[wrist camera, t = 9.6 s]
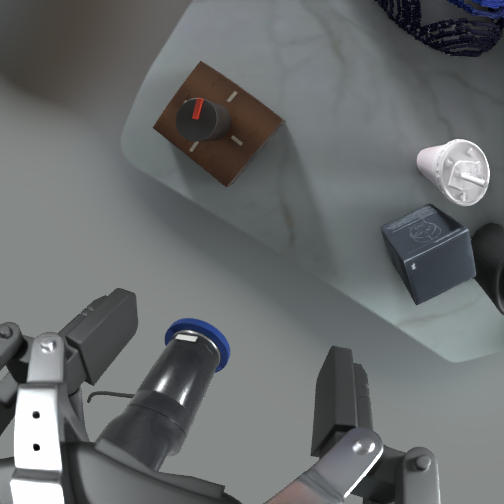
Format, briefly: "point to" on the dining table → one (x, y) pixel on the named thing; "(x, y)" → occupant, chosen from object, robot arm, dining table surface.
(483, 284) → the pen holder
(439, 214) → the box
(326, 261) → the dining table surface
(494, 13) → the decorative bowl
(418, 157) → the smoothie
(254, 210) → the dining table surface
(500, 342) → the dining table surface
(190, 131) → the dial
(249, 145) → the dial panel
